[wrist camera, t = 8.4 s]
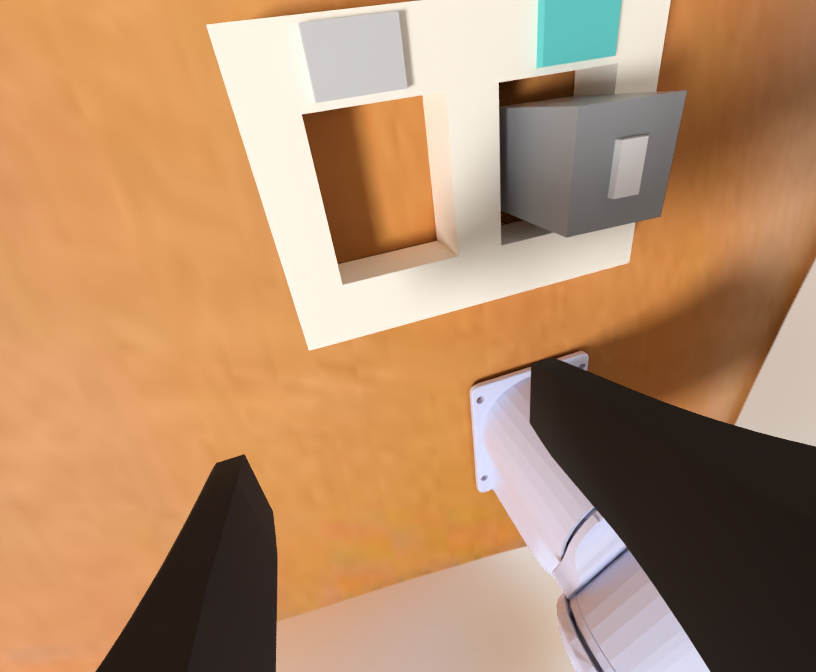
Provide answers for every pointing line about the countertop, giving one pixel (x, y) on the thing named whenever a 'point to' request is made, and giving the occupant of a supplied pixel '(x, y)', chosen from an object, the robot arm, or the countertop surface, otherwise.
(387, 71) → the socket board
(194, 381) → the countertop surface
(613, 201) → the plug
